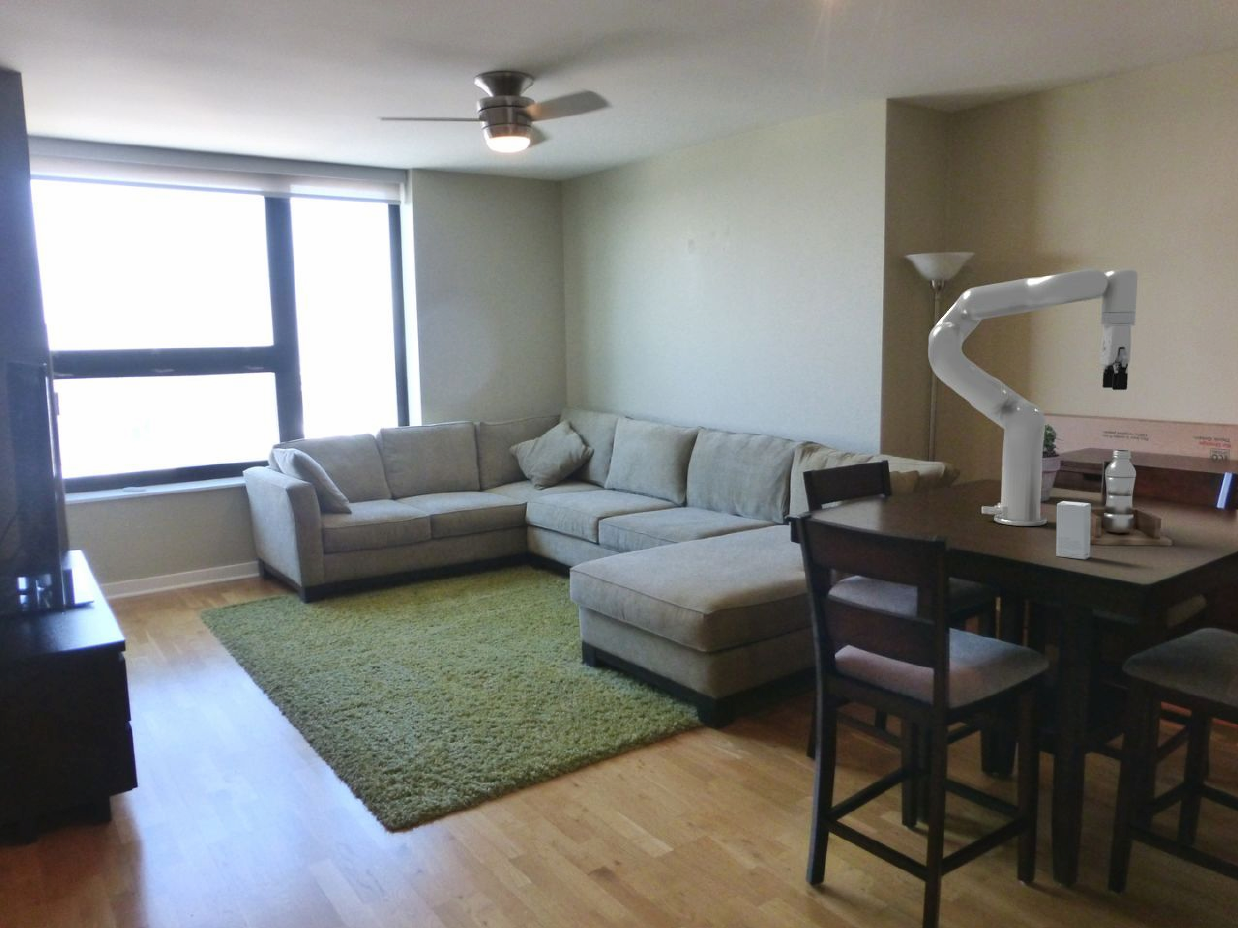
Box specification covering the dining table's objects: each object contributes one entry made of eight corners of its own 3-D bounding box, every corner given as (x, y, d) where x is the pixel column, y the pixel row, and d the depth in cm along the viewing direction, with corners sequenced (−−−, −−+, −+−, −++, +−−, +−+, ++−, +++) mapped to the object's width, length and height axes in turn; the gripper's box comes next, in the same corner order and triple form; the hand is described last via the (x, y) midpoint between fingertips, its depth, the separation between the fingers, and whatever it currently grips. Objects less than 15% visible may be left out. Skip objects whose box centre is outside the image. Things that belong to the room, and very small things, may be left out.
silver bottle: (1137, 536, 217) (1142, 452, 215) (1106, 535, 219) (1110, 451, 216) (1128, 530, 223) (1133, 449, 221) (1098, 529, 225) (1102, 448, 222)
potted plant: (1042, 507, 262) (1045, 420, 259) (985, 497, 279) (988, 415, 276) (1082, 500, 271) (1086, 416, 268) (1025, 492, 288) (1028, 412, 285)
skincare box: (1090, 556, 203) (1093, 502, 202) (1084, 560, 200) (1086, 505, 199) (1061, 552, 208) (1063, 499, 206) (1054, 556, 204) (1056, 502, 203)
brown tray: (1087, 544, 215) (1088, 519, 214) (1067, 530, 231) (1068, 506, 230) (1171, 545, 212) (1173, 520, 211) (1145, 531, 228) (1146, 507, 227)
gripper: (1093, 321, 239) (1090, 387, 241) (1110, 319, 222) (1106, 390, 224) (1125, 320, 237) (1121, 386, 239) (1144, 319, 220) (1140, 390, 222)
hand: (1114, 388), depth 232 cm, fingers open, 9 cm apart
